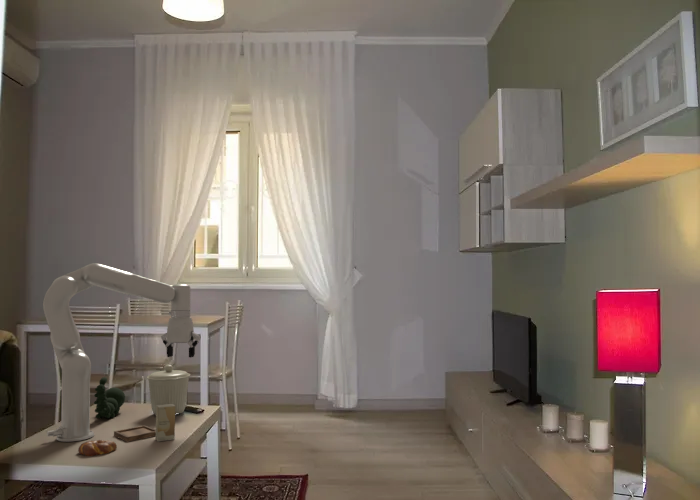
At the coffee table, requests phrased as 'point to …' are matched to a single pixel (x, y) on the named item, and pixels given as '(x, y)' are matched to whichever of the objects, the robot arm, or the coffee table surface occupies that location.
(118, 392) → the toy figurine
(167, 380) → the canister
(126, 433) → the wooden tray
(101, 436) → the coffee table surface
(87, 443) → the pretzel
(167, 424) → the skincare box
